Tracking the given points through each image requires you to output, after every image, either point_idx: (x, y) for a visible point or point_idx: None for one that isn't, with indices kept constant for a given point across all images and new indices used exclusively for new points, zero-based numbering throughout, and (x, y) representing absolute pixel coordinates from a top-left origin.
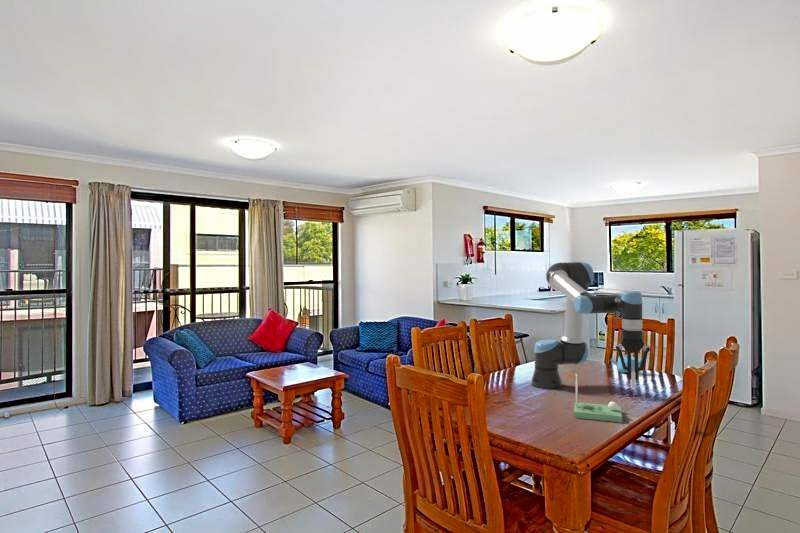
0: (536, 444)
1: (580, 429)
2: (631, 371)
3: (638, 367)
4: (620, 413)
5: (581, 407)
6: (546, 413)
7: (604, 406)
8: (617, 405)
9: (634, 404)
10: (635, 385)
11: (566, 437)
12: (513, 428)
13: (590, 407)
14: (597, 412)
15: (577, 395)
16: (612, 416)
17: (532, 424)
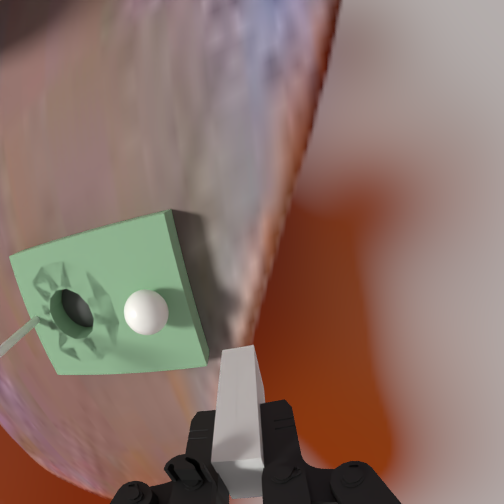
0: None
1: (129, 439)
2: (230, 487)
3: (317, 501)
4: (192, 332)
5: (49, 319)
6: (8, 351)
7: (104, 258)
8: (165, 315)
9: (218, 41)
10: (264, 402)
11: (133, 475)
12: (43, 452)
13: (66, 287)
14: (114, 357)
15: (14, 344)
16: (172, 367)
17: (44, 431)
